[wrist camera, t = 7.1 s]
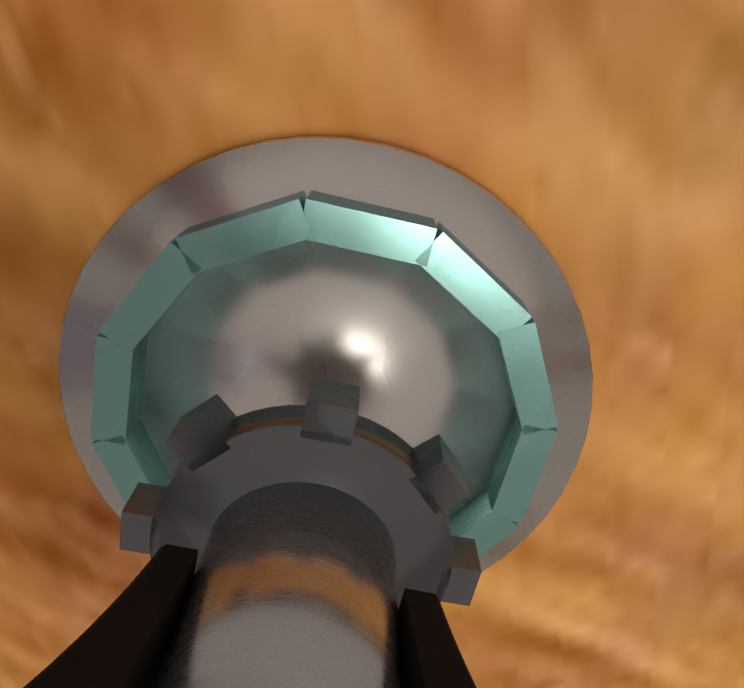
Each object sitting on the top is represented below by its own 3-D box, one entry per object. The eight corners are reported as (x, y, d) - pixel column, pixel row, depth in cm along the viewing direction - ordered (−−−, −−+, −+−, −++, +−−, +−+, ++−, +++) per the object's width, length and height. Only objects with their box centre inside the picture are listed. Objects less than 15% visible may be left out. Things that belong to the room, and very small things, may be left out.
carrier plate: (63, 549, 22) (35, 591, 21) (81, 70, 16) (43, 71, 14) (496, 627, 24) (505, 674, 22) (669, 210, 17) (702, 227, 16)
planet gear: (129, 624, 16) (9, 890, 10) (147, 347, 13) (-8, 534, 8) (430, 670, 16) (454, 945, 11) (517, 415, 13) (603, 632, 8)
